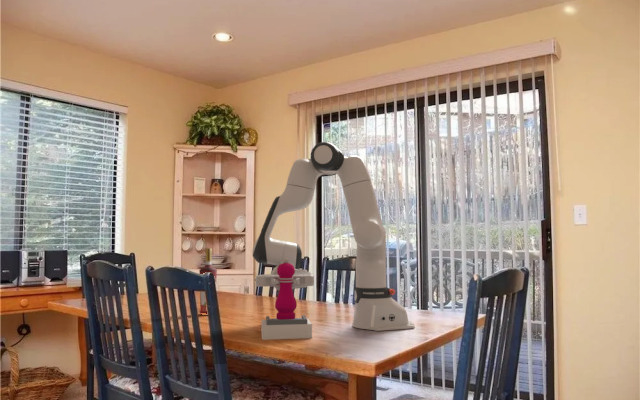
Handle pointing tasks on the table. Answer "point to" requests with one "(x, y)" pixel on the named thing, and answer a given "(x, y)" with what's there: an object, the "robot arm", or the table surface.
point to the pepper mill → (285, 292)
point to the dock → (286, 328)
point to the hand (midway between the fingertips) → (286, 282)
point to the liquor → (207, 268)
